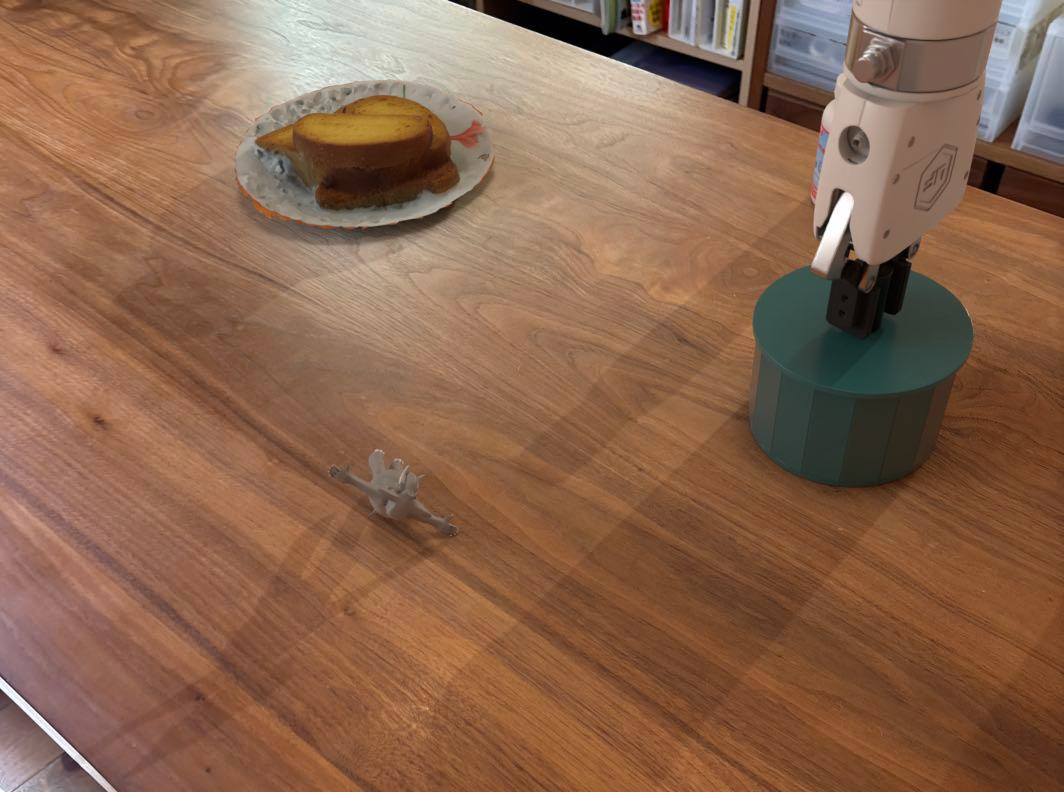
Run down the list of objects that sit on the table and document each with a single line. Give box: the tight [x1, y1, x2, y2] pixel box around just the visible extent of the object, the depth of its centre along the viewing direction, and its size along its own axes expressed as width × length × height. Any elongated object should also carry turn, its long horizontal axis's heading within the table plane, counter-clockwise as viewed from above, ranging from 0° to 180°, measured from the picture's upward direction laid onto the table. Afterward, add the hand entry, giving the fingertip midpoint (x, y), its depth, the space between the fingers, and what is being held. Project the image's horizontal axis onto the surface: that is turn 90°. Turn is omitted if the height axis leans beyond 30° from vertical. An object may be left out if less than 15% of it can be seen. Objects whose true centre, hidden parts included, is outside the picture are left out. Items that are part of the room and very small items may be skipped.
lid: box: [751, 257, 975, 399], centre depth 73 cm, size 14×14×6 cm
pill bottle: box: [810, 71, 847, 205], centre depth 96 cm, size 6×6×11 cm
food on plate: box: [234, 79, 496, 231], centre depth 107 cm, size 25×25×7 cm
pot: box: [747, 342, 957, 488], centre depth 78 cm, size 13×13×8 cm
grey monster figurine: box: [327, 448, 460, 537], centre depth 76 cm, size 10×6×9 cm
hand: (863, 315), depth 74 cm, fingers closed on lid, 2 cm apart
